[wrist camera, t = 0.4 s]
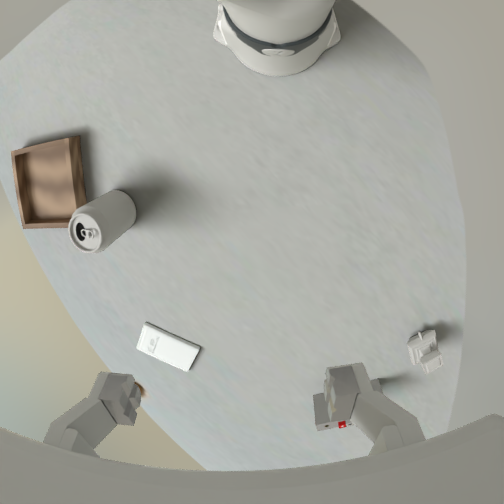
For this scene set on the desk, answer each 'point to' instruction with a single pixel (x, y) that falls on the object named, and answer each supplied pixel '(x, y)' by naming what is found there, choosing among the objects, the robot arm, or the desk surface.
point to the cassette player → (322, 410)
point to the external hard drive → (167, 347)
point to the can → (101, 221)
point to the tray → (49, 183)
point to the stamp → (425, 351)
